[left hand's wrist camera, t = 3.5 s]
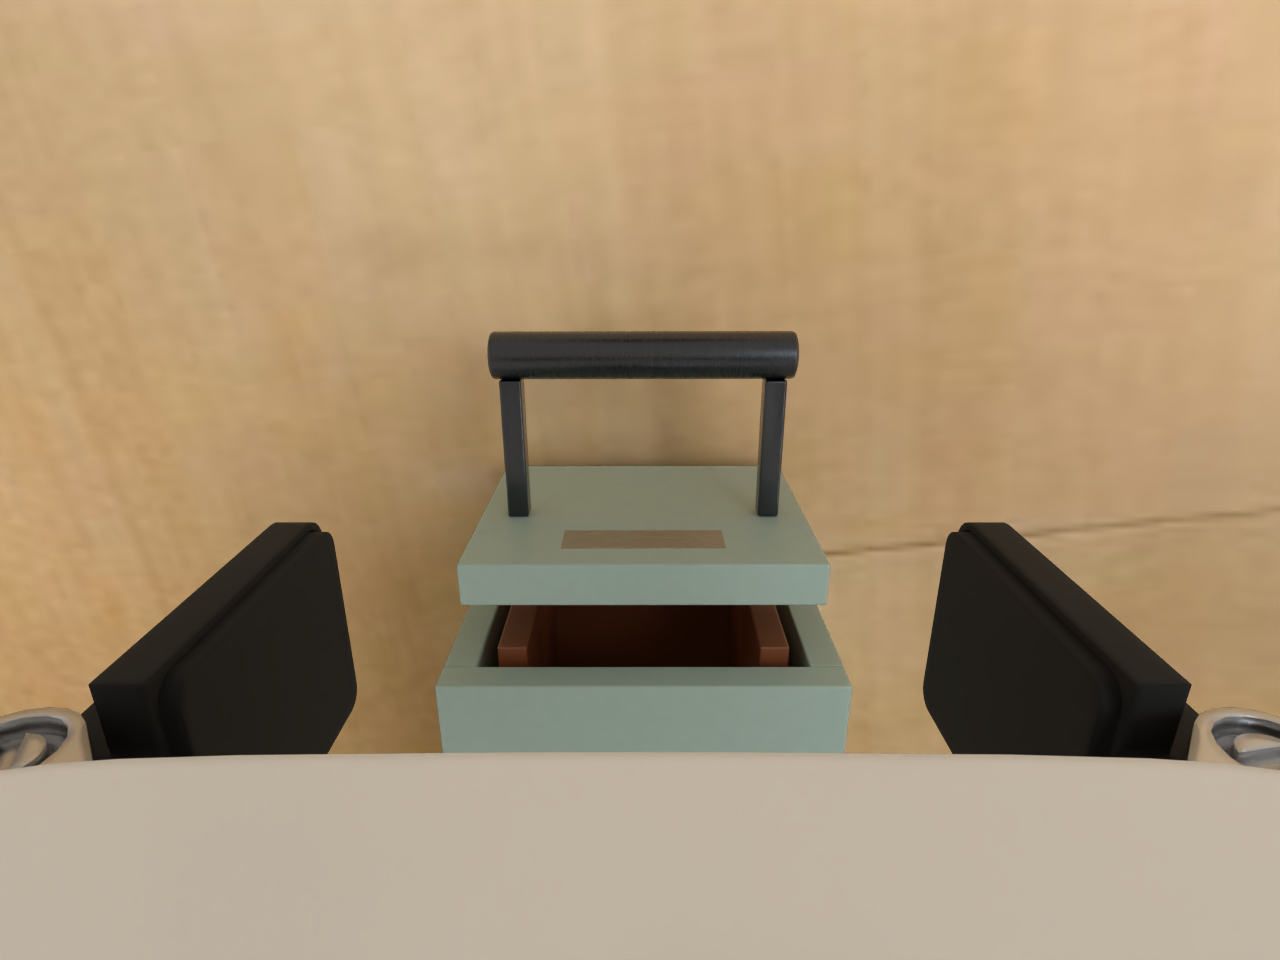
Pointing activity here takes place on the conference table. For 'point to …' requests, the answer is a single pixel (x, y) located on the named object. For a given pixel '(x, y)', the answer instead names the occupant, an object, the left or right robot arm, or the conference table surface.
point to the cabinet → (643, 699)
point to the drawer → (643, 521)
